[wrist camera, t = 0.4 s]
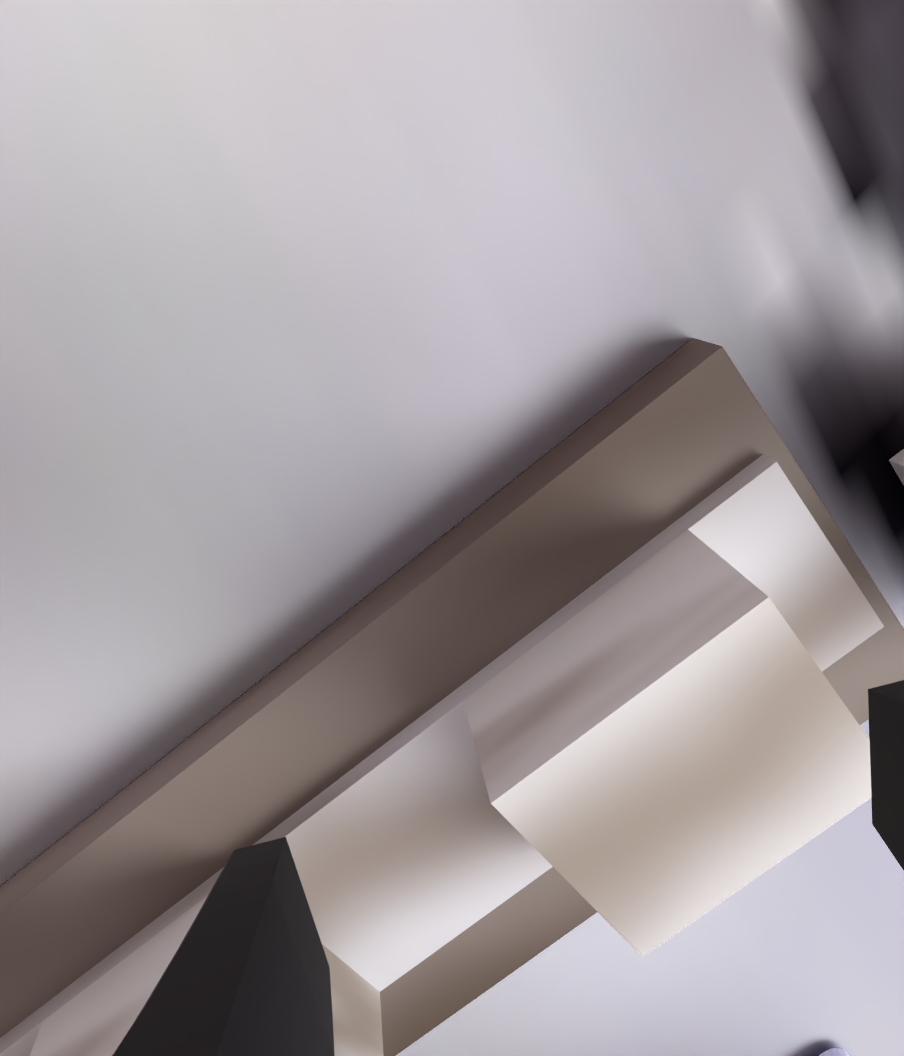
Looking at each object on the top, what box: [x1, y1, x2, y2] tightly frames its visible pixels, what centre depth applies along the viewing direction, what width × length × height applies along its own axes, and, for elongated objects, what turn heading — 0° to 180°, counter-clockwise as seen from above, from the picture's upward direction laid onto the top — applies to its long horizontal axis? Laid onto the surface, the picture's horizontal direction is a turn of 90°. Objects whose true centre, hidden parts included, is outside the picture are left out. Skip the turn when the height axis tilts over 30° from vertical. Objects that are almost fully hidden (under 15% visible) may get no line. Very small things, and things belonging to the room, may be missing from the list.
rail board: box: [0, 338, 904, 1056], centre depth 19 cm, size 10×24×6 cm, turn 128°
